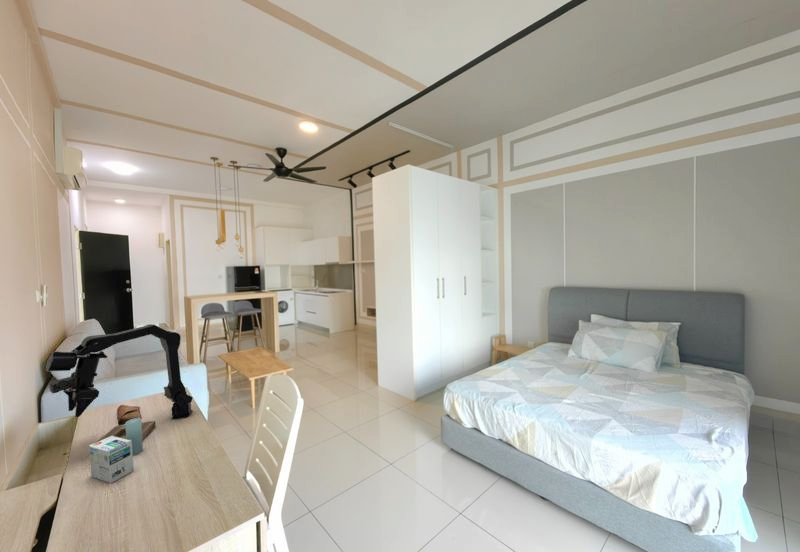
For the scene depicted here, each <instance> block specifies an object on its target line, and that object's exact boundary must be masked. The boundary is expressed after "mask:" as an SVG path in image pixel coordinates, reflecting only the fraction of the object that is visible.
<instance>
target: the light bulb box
mask: <svg viewBox="0 0 800 552" xmlns="http://www.w3.org/2000/svg"><path fill="white" fill-rule="evenodd" d="M88 450H89V464H90V475H91V476H92V477H91V476H90V477H91V478H95V479H97V480H101V481H104V482H106V483H108V484H109V483H110V484H113V482H116V481H117V480H119V479H121V478H123V477H125V476H126V475H128V474H130V473H132V472H134V458H133V457H134V456H133V454H132V440H128V439H123V438H119V437H115V436H110V437H108V438H106V439H103V440H101V441H99V442H97V441H96V442H94V443H92V444H89V445H88Z"/></svg>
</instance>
